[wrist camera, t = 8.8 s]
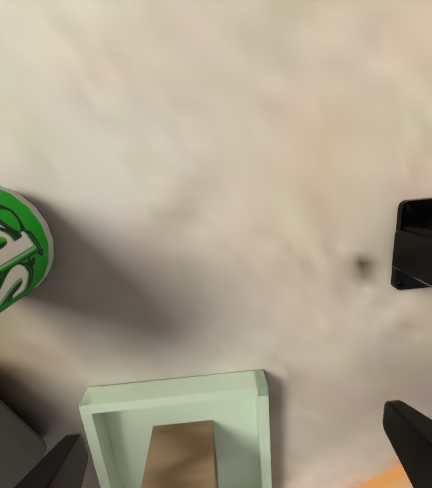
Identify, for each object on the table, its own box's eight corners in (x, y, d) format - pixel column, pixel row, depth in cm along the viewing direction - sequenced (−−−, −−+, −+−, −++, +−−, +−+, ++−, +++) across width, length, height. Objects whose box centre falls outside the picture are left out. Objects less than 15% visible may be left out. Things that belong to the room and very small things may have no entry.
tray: (262, 369, 22) (267, 386, 20) (268, 493, 26) (272, 517, 24) (88, 387, 22) (78, 406, 20) (119, 510, 25) (113, 535, 24)
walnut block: (212, 419, 23) (215, 504, 17) (217, 463, 24) (221, 556, 18) (152, 426, 23) (135, 513, 17) (161, 470, 24) (147, 564, 18)
